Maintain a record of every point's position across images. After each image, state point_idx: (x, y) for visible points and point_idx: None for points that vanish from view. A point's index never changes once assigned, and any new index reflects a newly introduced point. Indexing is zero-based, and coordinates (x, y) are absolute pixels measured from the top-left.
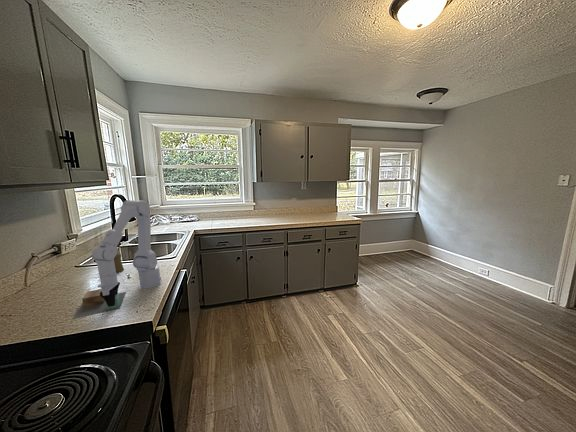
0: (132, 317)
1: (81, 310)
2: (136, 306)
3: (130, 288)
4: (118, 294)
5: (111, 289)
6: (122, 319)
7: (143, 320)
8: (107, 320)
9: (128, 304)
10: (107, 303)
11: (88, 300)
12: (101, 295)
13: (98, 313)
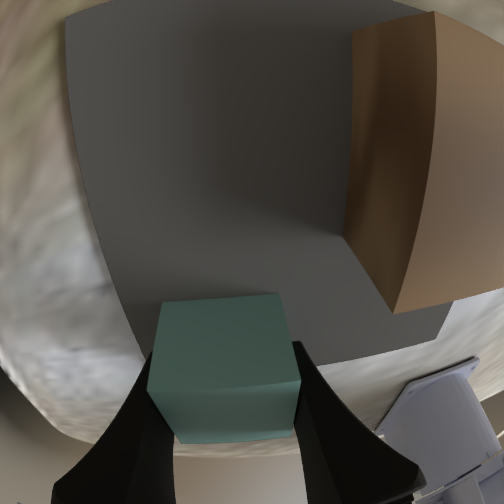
0: (70, 409)
1: (262, 22)
2: None
3: (466, 332)
4: (278, 436)
5: (314, 478)
6: (50, 384)
7: (56, 426)
8: (31, 331)
9: None
10: (137, 385)
11: (400, 100)
12: (54, 494)
13: (106, 257)
